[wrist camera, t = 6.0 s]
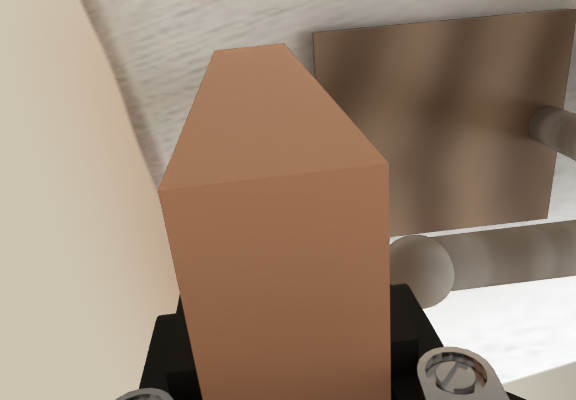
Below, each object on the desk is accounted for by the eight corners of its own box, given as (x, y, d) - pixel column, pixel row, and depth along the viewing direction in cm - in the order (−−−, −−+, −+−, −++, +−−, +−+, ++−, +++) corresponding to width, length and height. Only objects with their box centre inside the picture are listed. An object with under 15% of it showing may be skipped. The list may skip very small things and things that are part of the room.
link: (284, 43, 21) (389, 163, 6) (302, 246, 25) (393, 607, 10) (214, 50, 21) (157, 189, 6) (244, 254, 25) (252, 630, 10)
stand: (570, 8, 30) (945, 27, 14) (542, 212, 36) (789, 391, 20) (307, 33, 30) (391, 82, 13) (319, 238, 35) (390, 448, 19)
